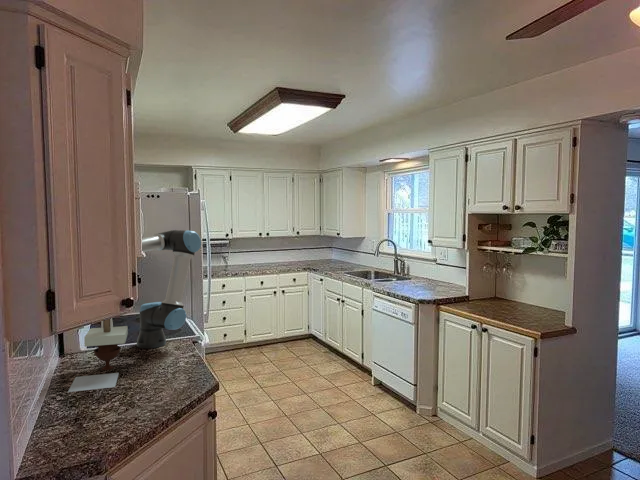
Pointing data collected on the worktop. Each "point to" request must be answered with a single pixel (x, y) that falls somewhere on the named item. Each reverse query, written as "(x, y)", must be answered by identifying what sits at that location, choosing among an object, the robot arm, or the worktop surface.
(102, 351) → the ice cream bowl
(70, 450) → the worktop surface
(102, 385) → the mat
